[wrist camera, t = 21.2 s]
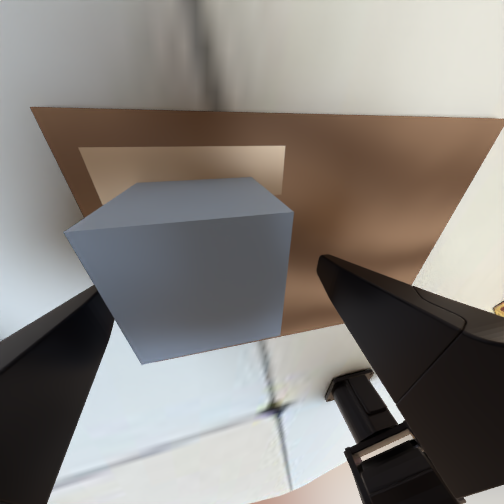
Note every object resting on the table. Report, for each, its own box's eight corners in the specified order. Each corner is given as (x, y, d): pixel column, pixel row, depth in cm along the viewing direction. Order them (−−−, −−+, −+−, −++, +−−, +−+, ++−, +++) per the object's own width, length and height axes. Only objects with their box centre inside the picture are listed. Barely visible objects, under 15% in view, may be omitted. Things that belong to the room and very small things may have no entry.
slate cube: (252, 263, 13) (280, 335, 8) (166, 275, 12) (141, 364, 7) (251, 176, 10) (294, 211, 5) (136, 182, 9) (63, 231, 4)
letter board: (390, 308, 21) (395, 313, 20) (156, 355, 16) (155, 362, 16) (495, 119, 12) (508, 118, 11) (41, 109, 7) (29, 106, 7)
